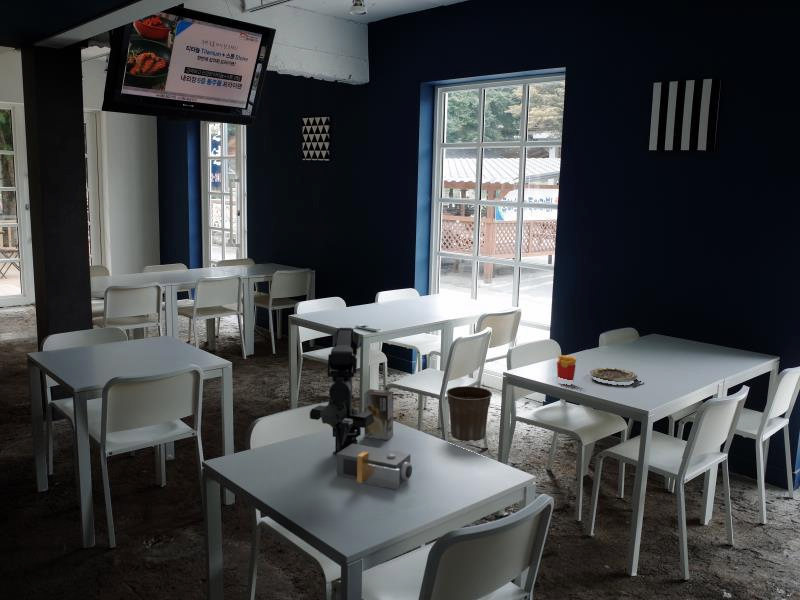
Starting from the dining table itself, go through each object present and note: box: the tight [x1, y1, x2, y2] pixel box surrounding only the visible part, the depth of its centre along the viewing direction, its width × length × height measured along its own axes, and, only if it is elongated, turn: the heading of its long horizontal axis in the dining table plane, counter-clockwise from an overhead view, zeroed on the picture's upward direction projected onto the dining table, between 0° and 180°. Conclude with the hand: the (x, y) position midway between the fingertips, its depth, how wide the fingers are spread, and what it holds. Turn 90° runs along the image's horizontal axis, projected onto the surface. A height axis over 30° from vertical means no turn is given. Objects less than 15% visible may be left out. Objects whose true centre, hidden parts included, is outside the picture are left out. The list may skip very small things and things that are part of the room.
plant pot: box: [446, 385, 493, 442], centre depth 253 cm, size 16×16×16 cm
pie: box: [589, 367, 638, 382], centre depth 335 cm, size 28×27×5 cm
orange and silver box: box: [356, 452, 400, 491], centre depth 206 cm, size 11×5×10 cm, turn 65°
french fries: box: [556, 354, 577, 381], centre depth 327 cm, size 9×4×13 cm, turn 43°
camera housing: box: [335, 444, 413, 486], centre depth 215 cm, size 22×10×8 cm, turn 65°
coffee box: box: [363, 388, 394, 441], centre depth 251 cm, size 9×6×16 cm
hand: (341, 444), depth 209 cm, fingers closed
